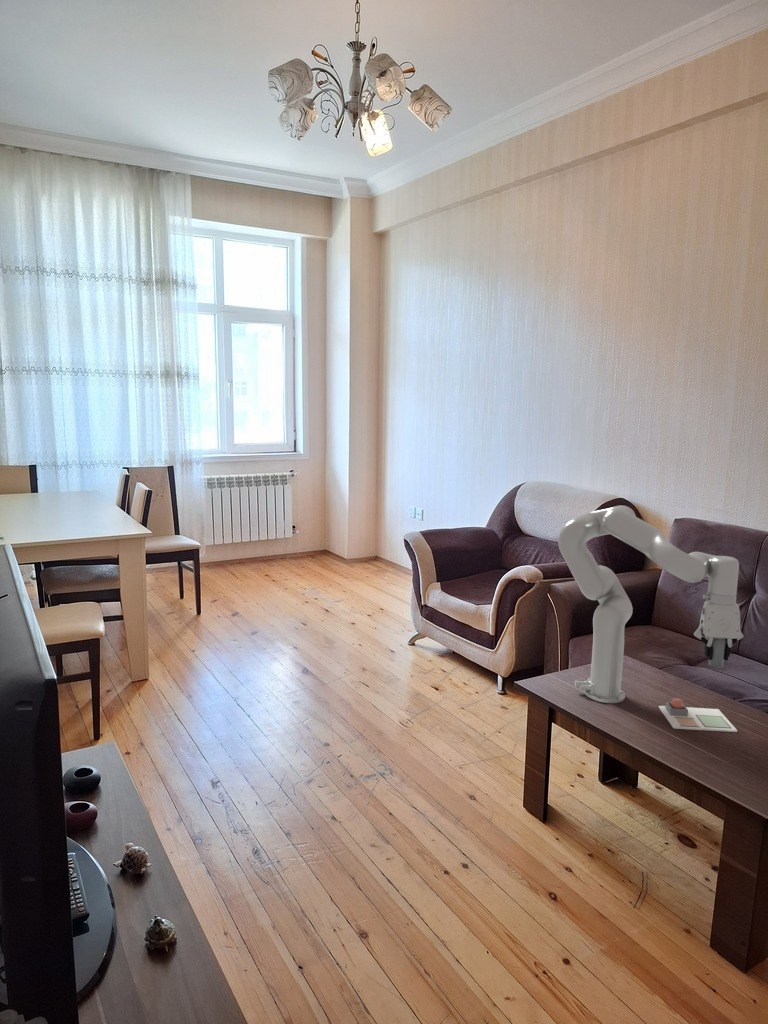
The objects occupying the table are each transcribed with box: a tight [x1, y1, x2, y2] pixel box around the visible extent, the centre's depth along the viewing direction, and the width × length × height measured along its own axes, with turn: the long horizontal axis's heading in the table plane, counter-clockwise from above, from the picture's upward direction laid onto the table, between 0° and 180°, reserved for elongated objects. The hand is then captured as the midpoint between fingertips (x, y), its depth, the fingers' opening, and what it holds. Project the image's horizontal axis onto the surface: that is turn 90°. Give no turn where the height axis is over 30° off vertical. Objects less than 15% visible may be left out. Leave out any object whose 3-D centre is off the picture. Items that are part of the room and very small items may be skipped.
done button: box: [670, 697, 684, 709], centre depth 208 cm, size 3×3×2 cm
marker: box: [708, 638, 726, 669], centre depth 201 cm, size 4×4×11 cm
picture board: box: [658, 701, 738, 733], centre depth 205 cm, size 18×14×2 cm
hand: (716, 657), depth 202 cm, fingers closed on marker, 3 cm apart
